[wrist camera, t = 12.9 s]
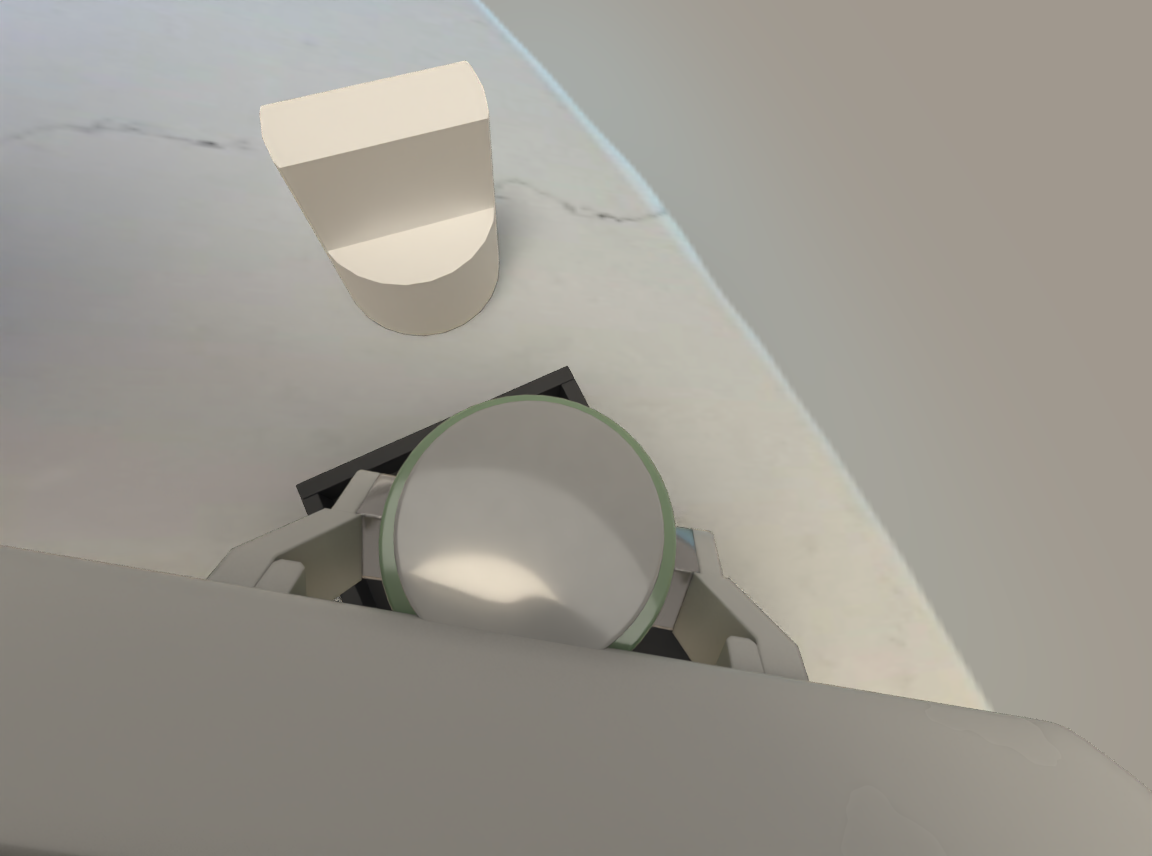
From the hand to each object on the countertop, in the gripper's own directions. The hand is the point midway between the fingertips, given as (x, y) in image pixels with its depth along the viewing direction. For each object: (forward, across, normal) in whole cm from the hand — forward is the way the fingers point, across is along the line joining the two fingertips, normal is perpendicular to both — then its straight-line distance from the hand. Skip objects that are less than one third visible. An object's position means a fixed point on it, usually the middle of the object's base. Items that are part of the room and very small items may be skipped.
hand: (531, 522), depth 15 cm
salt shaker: (+3, 0, +4) cm, 5 cm away
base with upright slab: (+24, +9, +2) cm, 26 cm away
